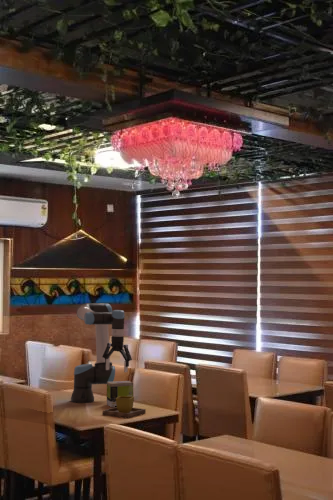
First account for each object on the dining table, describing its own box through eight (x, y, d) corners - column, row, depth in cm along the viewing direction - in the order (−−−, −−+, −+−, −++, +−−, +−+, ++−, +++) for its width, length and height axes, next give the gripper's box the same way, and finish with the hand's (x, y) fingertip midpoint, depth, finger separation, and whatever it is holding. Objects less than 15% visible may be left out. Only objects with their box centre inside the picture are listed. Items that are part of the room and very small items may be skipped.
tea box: (129, 403, 426) (129, 380, 427) (133, 406, 417) (133, 382, 418) (106, 404, 422) (106, 381, 422) (109, 407, 412) (110, 383, 413)
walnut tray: (102, 414, 388) (102, 410, 388) (120, 410, 403) (120, 406, 403) (127, 418, 378) (128, 413, 378) (145, 413, 393) (145, 409, 394)
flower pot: (115, 413, 387) (115, 397, 388) (120, 411, 396) (120, 395, 396) (129, 414, 385) (129, 398, 386) (134, 412, 393) (134, 396, 394)
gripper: (97, 334, 408) (96, 369, 408) (131, 337, 395) (130, 373, 395) (104, 333, 415) (103, 368, 414) (138, 336, 402) (137, 372, 401)
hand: (116, 371), depth 405 cm, fingers open, 13 cm apart
